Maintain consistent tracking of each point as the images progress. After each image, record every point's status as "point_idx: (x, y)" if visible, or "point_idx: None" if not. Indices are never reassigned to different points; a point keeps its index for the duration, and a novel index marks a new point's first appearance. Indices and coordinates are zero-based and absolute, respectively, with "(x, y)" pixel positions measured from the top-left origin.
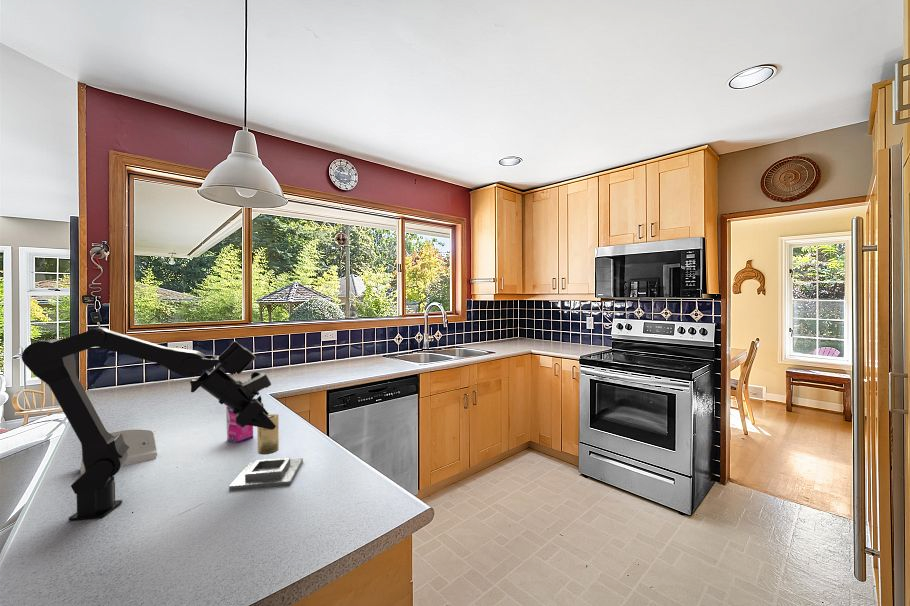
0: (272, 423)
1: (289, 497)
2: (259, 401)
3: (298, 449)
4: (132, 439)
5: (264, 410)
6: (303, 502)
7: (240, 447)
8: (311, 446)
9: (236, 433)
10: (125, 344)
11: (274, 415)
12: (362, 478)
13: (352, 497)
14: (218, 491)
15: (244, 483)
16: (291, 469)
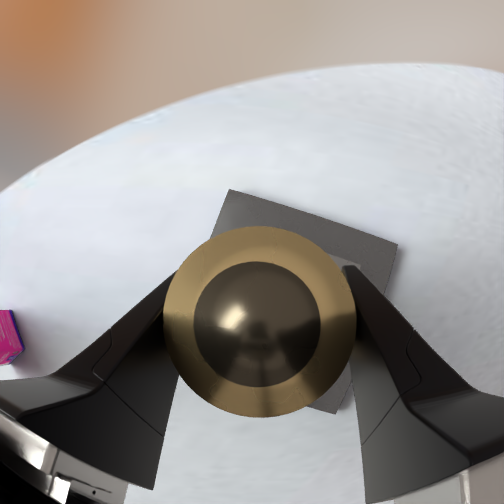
0: (373, 289)
1: (456, 253)
2: (61, 424)
3: (124, 201)
4: None
5: (133, 351)
6: (485, 225)
7: (46, 349)
8: (125, 165)
9: (6, 352)
10: None
11: (248, 262)
12: (413, 86)
13: (485, 132)
14: (323, 432)
15: (342, 376)
16: (308, 231)
